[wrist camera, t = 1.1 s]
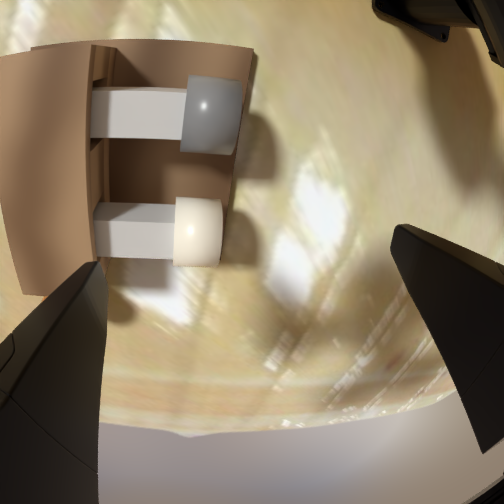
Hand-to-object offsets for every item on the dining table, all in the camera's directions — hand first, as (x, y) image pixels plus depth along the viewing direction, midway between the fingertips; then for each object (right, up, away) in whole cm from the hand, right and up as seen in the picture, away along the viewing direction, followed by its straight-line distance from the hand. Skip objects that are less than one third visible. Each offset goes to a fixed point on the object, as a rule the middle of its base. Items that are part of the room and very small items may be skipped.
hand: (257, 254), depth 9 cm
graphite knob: (-6, +8, +6) cm, 11 cm away
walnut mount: (-8, +6, +9) cm, 13 cm away
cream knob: (-7, +2, +9) cm, 12 cm away
